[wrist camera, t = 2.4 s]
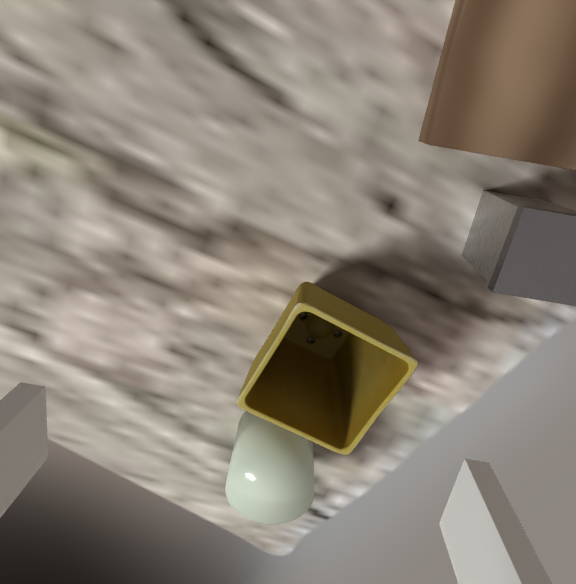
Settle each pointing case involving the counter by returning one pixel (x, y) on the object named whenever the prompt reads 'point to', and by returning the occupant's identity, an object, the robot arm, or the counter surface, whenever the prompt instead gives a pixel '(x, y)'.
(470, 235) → the metal tin
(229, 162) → the counter surface
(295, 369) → the flower pot
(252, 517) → the pale green rounded cylinder
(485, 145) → the brown curved panel
